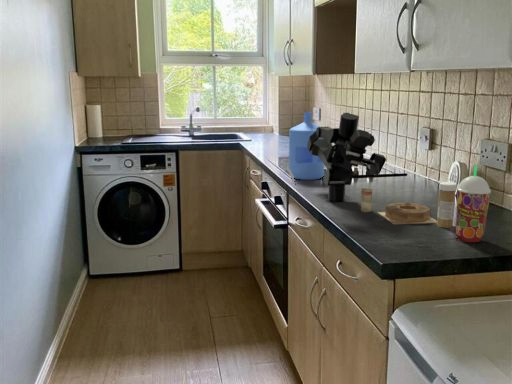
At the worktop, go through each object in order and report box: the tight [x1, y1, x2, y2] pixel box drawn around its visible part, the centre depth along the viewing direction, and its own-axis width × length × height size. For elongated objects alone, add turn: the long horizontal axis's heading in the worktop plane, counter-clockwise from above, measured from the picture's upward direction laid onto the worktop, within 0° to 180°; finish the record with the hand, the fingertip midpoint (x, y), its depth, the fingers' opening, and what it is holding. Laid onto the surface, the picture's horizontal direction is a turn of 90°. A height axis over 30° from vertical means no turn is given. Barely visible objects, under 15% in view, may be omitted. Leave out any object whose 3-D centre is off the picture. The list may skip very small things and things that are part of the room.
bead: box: [384, 202, 431, 223], centre depth 155 cm, size 12×12×3 cm
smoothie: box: [455, 165, 492, 243], centre depth 135 cm, size 8×8×20 cm
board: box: [377, 211, 437, 225], centre depth 155 cm, size 14×14×1 cm
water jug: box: [288, 111, 325, 181], centre depth 222 cm, size 16×16×28 cm
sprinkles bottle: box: [436, 181, 458, 229], centre depth 145 cm, size 5×5×14 cm
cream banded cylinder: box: [360, 187, 373, 213], centre depth 162 cm, size 3×3×8 cm
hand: (364, 170), depth 152 cm, fingers open, 9 cm apart
